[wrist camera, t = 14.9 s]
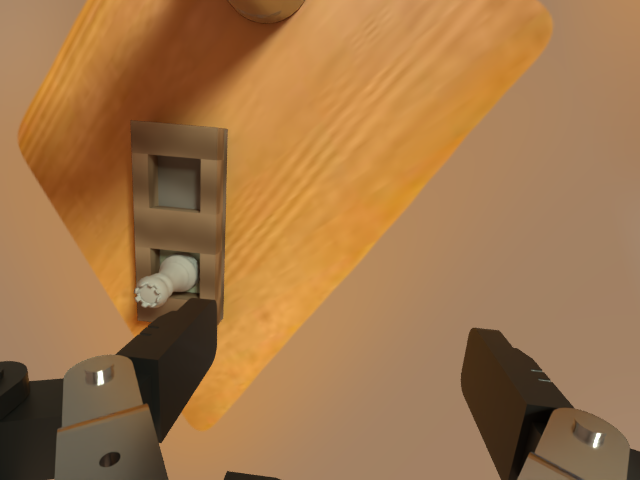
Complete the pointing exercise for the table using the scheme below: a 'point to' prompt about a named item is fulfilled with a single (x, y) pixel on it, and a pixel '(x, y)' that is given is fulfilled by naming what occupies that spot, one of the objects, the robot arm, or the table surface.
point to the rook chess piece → (168, 280)
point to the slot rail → (180, 206)
